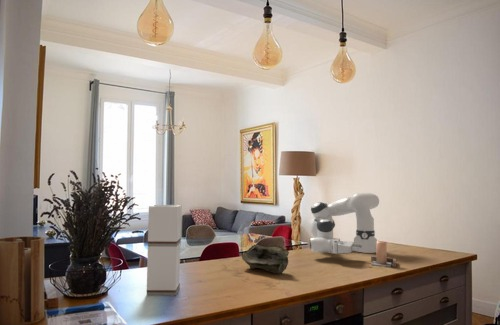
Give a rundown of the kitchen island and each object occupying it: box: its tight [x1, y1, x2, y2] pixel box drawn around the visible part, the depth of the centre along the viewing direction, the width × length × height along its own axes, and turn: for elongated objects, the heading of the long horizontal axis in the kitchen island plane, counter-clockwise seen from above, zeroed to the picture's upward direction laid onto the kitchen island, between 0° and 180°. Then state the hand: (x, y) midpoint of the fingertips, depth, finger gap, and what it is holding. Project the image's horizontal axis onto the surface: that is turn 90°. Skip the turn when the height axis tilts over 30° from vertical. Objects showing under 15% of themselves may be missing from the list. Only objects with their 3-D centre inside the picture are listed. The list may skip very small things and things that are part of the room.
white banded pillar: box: [146, 204, 182, 297], centre depth 153 cm, size 11×11×35 cm
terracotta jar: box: [375, 240, 388, 265], centre depth 209 cm, size 6×6×12 cm
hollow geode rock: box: [241, 243, 290, 275], centre depth 191 cm, size 28×13×15 cm
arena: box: [370, 256, 397, 269], centre depth 210 cm, size 14×14×2 cm
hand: (360, 247), depth 214 cm, fingers open, 8 cm apart
